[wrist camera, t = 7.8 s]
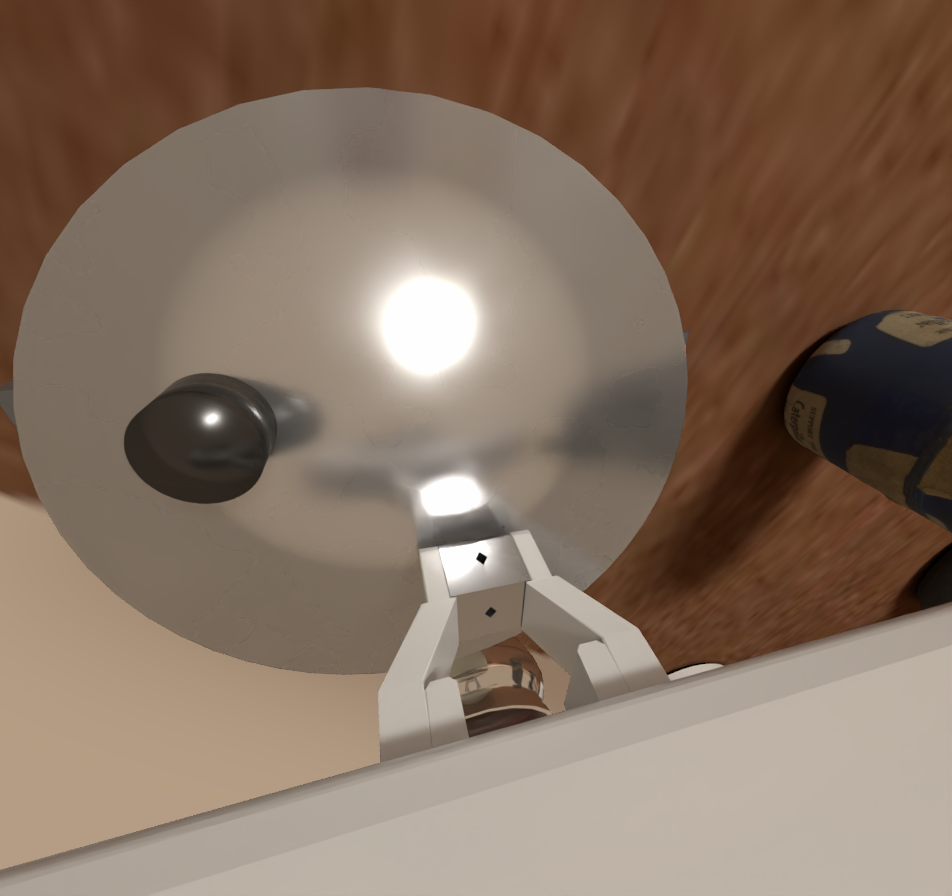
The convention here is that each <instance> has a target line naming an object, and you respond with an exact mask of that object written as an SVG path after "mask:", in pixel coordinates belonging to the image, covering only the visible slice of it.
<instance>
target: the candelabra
mask: <svg viewBox="0 0 952 896" xmlns="http://www.w3.org/2000/svg"><path fill="white" fill-rule="evenodd" d="M916 595H917V597H918V600H919V603H920V605H921V608H923V609H928V608H932V607H935V606H939V605H942V604H946V603H949V602H952V549H951V550H950V551H949V552H947V553H946V554H945V555H944V556H942V557H941V558H940V559H939V560H938V561H937V562H936V564H935V565H934V566H933V567H932V568H931V569H930V570H929V571H928V572H927V573H926V574H925V576H924V578H923V579H922V581H921V582H920V583H919V585H918V590H917V593H916Z"/></svg>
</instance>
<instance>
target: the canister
mask: <svg viewBox="0 0 952 896" xmlns="http://www.w3.org/2000/svg"><path fill="white" fill-rule="evenodd" d="M784 424H785V426H786V428H787V430H788V432H789V433H790V435H791V436H792V437H793V439H794V440H796V441H797V442H798V443H799V444H801V445H802V446H804V447H806V448H807V449H809V450H811V451H812V452H814V453H816V454H817V455H819V456H821V457H822V458H824V459H826V460H828V461H829V462H831V463H833V464H835V465H836V466H838V467H840V468H841V469H843V470H845V471H846V472H848V473H850V474H851V475H853V476H854V477H856V478H857V479H859V480H861V481H862V482H864V483H866V484H868V485H870V486H872V487H873V488H875V489H877V490H878V491H880V492H882V493H883V494H884V495H885V496H886V497H887V498H888V499H889V500H891V501H893V502H895V503H897V504H899V505H902V506H904V507H907V508H909V509H911V510H913V511H915V512H917V513H918V514H920V515H922V516H924V517H925V518H927V519H928V520H930V521H932V522H933V523H935V524H937V525H939V526H940V527H942V528H944V529H946V530H947V531H949V532H951V533H952V320H950V319H945V318H941V317H936V316H932V315H927V314H923V313H918V312H912V311H903V310H890V311H882V312H877V313H874V314H870V315H867V316H865V317H862V318H860V319H858V320H856V321H854V322H852V323H850V324H849V325H847V326H845V327H844V328H842V329H841V330H839V331H838V332H837V333H835V334H834V335H833V336H831V337H830V338H829V339H828V340H826V341H825V342H824V343H823V344H822V345H821V346H820V347H819V348H818V349H817V350H816V351H815V352H814V353H813V354H812V355H811V357H810V358H809V359H808V360H807V362H806V363H805V364H804V366H803V367H802V369H801V370H800V372H799V373H798V375H797V377H796V378H795V380H794V382H793V383H792V385H791V388H790V390H789V393H788V396H787V399H786V403H785V409H784Z"/></svg>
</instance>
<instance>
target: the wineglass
mask: <svg viewBox="0 0 952 896" xmlns="http://www.w3.org/2000/svg"><path fill="white" fill-rule="evenodd" d="M449 677H451V678H452V679H454V680H456V681H457V683H458V688H459V692H460V697H461V702H462V707H463V711H464V716H465V721H466V726H467V730H468V735H469V738H470V737H474V736H477V735H481V734H484V733H488V732H491V731H495V730H498V729H502V728H505V727H509V726H513V725H516V724H520V723H523V722H527V721H530V720H534V719H537V718H541V717H545V716H548V715H552V714H553V713H552V712H551V711H550V710H549V709H548V708H547V706H546V705H545V704H544V703H543V701H544V685H543V678H542V673H541V671H540V669H539V667H538V665H537V663H536V661H535V660H534V658H533V656H532V655H531V654H530V652H529V651H528V650H527V649H526V647H525V646H524V645H523V644H522V643H521V642H520V641H519V640H518V638H516V637H514V636H513V637H511V638H509V639H507V640H504V641H502V642H500V643H498V644H495V645H493V646H491V647H489V648H486V649H483V650H480V651H477V652H475V653H472V654H469V655H466V656H463V657H460V658H456V659H454V661H453V664H452V667H451V671H450V674H449Z"/></svg>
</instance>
